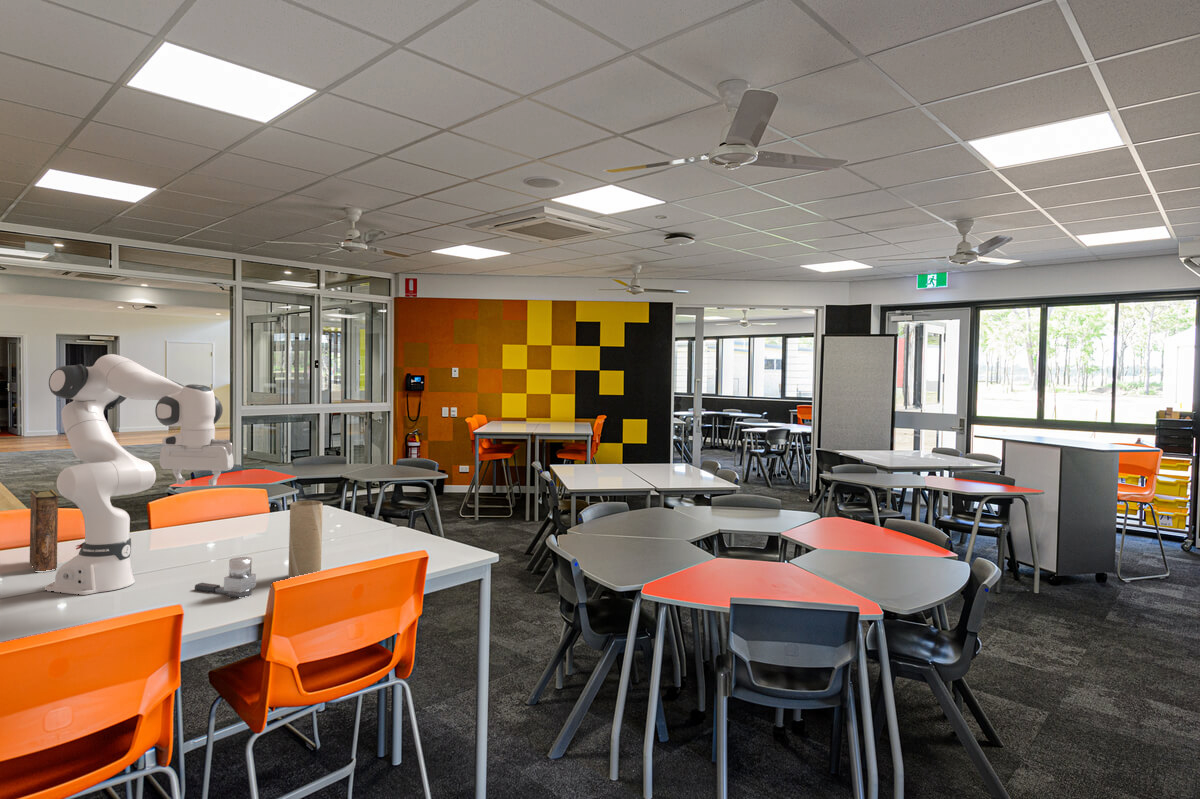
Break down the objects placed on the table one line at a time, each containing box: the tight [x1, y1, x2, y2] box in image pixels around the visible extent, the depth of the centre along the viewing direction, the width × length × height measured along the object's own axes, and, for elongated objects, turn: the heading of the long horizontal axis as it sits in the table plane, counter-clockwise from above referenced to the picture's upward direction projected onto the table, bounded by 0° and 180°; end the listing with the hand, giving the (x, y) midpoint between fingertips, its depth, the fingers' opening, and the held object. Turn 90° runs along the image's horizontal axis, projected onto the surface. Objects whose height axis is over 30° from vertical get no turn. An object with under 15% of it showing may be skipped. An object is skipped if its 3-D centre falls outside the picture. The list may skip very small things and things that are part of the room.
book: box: [29, 489, 59, 572], centre depth 216 cm, size 16×6×25 cm, turn 47°
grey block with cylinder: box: [223, 556, 257, 593], centre depth 195 cm, size 6×6×9 cm
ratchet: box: [194, 582, 253, 599], centre depth 197 cm, size 19×6×5 cm, turn 76°
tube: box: [287, 499, 324, 579], centre depth 215 cm, size 10×10×25 cm
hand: (196, 484), depth 191 cm, fingers open, 8 cm apart
